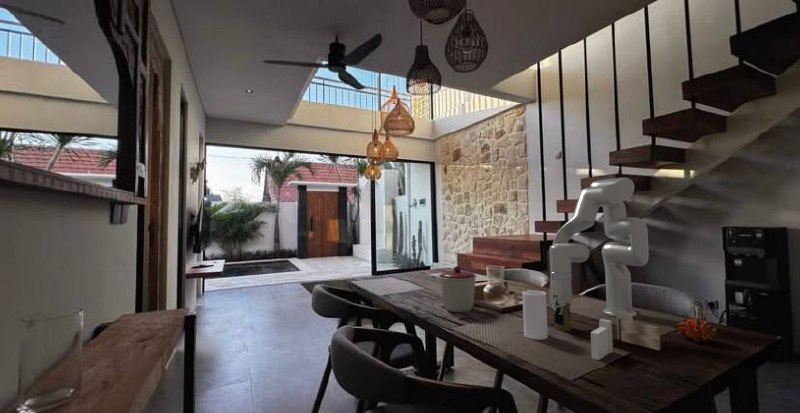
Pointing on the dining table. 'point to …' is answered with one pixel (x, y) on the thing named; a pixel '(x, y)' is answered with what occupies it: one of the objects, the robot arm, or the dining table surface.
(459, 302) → the canister
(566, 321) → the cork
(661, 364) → the dining table surface
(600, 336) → the wall frame
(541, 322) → the cup
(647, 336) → the gate
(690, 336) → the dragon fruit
